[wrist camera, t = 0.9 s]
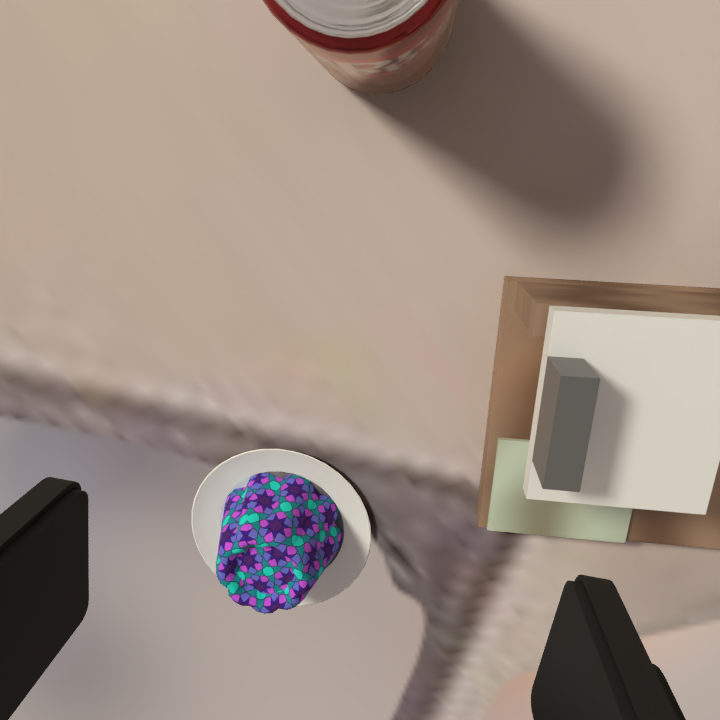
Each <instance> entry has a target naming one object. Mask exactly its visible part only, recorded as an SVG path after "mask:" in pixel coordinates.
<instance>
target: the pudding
mask: <svg viewBox="0 0 720 720" xmlns="http://www.w3.org/2000/svg"><path fill="white" fill-rule="evenodd" d="M268 471H282V472H288V473H293V474H296V475H299V476H295V475H290V476H287V477H285V478H282V479H280V478H278V477H276V476H274V475H272V474H270V473H266V474H258V473H263V472H268ZM255 474H258V475H256V476H252V475H255ZM300 476H303V477H305V478H307V479H309V480H311V481H313V482H314V483H315V484H317V485H318V486H320V487H321V488H322V489H323V490H324V491H325V492H327V493H328V494H329V495H330V497H331V498H332V499H333V501H334V502H335V503H336V505H337V507H338V509H339V511H340V513H339V512H338V510H337V508H336V505H335V503H334V502H333V501H332V500H331V499H330V498H329V497H328V496H325V495H321V494H317V493H316V492H315V489H314V487H313V485H312V483H311V482H309V481H308V480H306V479H305V478H303V477H300ZM192 530H193V535H194V539H195V542H196V545H197V547H198V550H199V552H200V554H201V555H202V557H203V559H204V560H205V562H206V564H207V565H208V566H209V567H210V569H211V570H212V571H213V572H214V573H215V575H217V577H218V579H219V581H220V583H221V584H222V585H223V586H225V587H226V588H228V592H229V596H230V597H231V598H232V599H233V601H235V602H236V603H238V604H240V605H242V606H245V605H246V606H251V607H252V608H253V609H255V610H256V611H257V612H261V613H273V612H274V611H276V610H277V609H278V608H279V609H286V610H288V609H291V608H294V607H296V606H303V605H312V604H315V603H318V602H322V601H325V600H327V599H329V598H331V597H333V596H335V595H337V594H339V593H340V592H342V591H343V590H344V589H346V588H347V587H349V586H350V584H351V583H352V582H353V581H354V580H355V579H356V578H357V577H358V575H359V574H360V572H361V571H362V569H363V567H364V566H365V563H366V561H367V558H368V555H369V552H370V545H371V527H370V522H369V518H368V514H367V511H366V509H365V507H364V505H363V502H362V500H361V498H360V497H359V495H358V494H357V492H356V491H355V490H354V488H353V487H352V486H351V484H350V483H349V482H348V481H347V480H346V479H345V478H344V477H342V476H341V475H340V474H339V473H338V472H337V471H335V470H334V469H332V468H331V467H330V466H328V465H327V464H325V463H323V462H321V461H319V460H317V459H315V458H313V457H311V456H308V455H305V454H302V453H298V452H295V451H289V450H282V449H259V450H254V451H248V452H244V453H242V454H239V455H236V456H234V457H231V458H230V459H228V460H226V461H224V462H223V463H221V464H219V465H218V466H217V467H216V468H215V469H214V470H213V471H212V472H211V473H209V474H208V476H207V477H206V478H205V480H204V481H203V482H202V484H201V485H200V487H199V489H198V491H197V494H196V496H195V499H194V503H193V507H192Z"/></svg>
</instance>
